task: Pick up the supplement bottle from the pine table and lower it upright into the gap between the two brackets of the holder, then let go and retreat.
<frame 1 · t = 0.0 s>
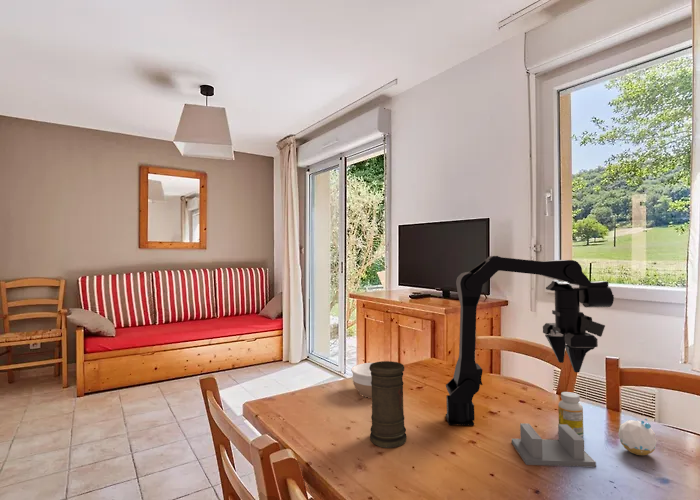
hand: (568, 367, 105), 15 cm above the table, fingers open, 9 cm apart
supplement bottle: (571, 434, 99), on the table
ornament: (637, 454, 89), on the table
container: (388, 440, 97), on the table
bowl: (376, 393, 131), on the table
holder: (551, 454, 89), on the table
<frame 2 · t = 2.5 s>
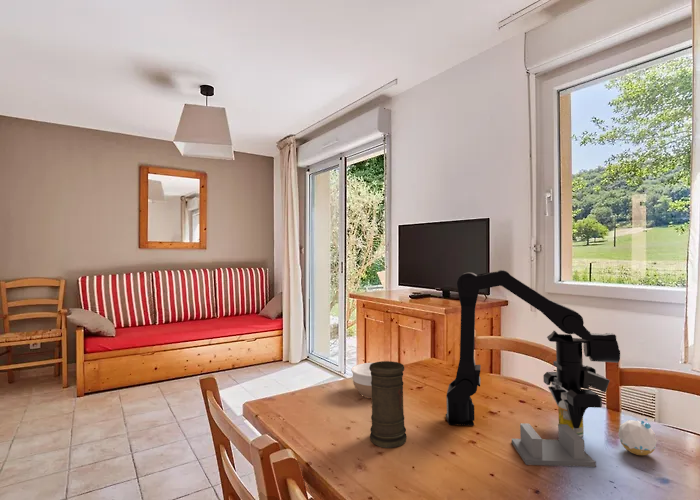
hand: (570, 423, 99), 3 cm above the table, fingers closed on supplement bottle, 5 cm apart
supplement bottle: (571, 434, 99), on the table, touching gripper
everything else where it was.
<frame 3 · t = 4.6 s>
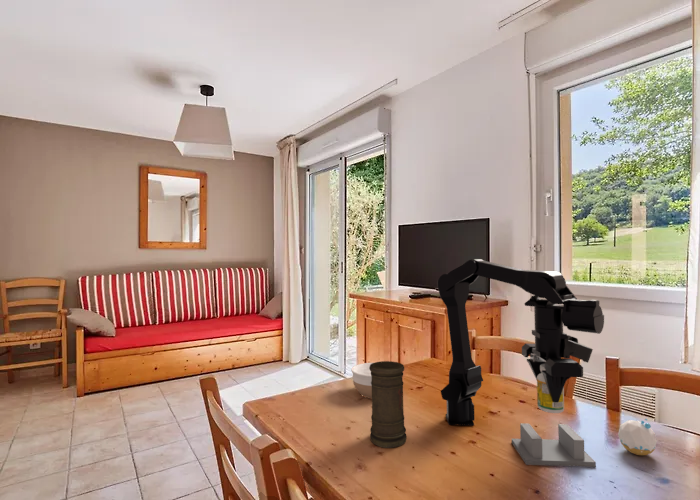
hand: (550, 397, 89), 12 cm above the table, fingers closed on supplement bottle, 5 cm apart
supplement bottle: (550, 409, 89), point 10 cm above the table, touching gripper
everything else where it was.
when the fingers open (4 cm above the table, at t = 6.5 s): supplement bottle stays where it is, resting on holder.
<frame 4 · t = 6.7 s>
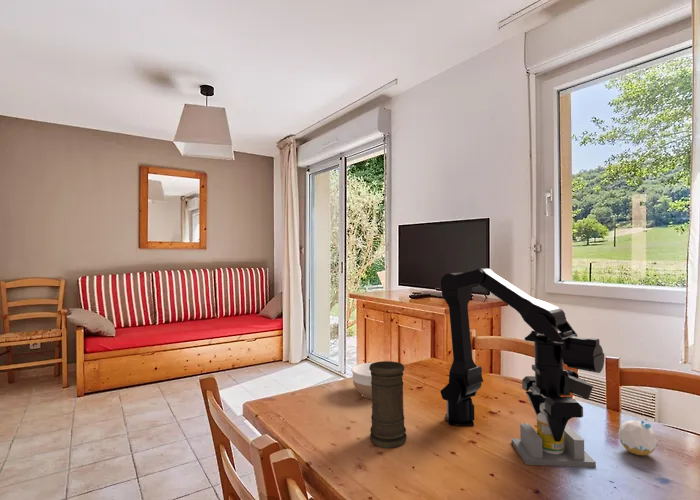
hand: (550, 433, 89), 4 cm above the table, fingers open, 7 cm apart
supplement bottle: (550, 450, 89), point 1 cm above the table, touching holder
everything else where it was.
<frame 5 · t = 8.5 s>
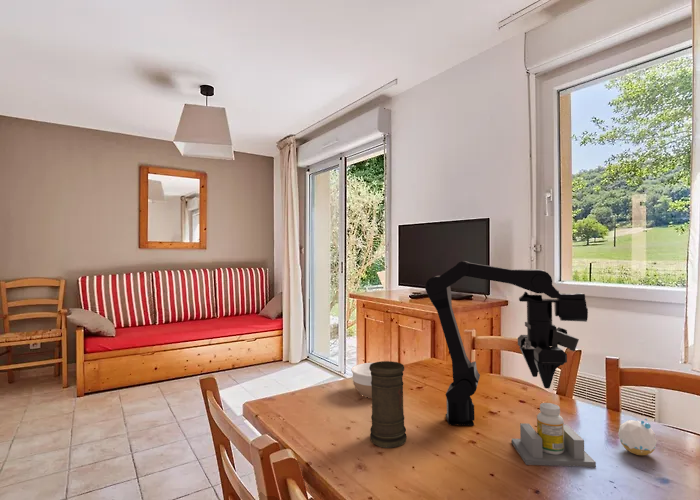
hand: (540, 382, 100), 12 cm above the table, fingers open, 9 cm apart
nothing on the table moved.
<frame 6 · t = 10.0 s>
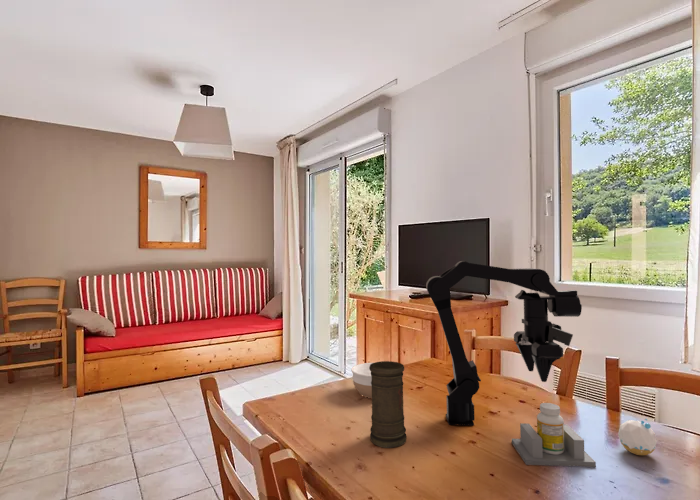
hand: (537, 376, 105), 12 cm above the table, fingers open, 9 cm apart
nothing on the table moved.
at the end: supplement bottle 0.1 cm off-centre on the holder, point 0.8 cm above the holder's base; supplement bottle tilted 0°; the gripper is holding nothing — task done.
